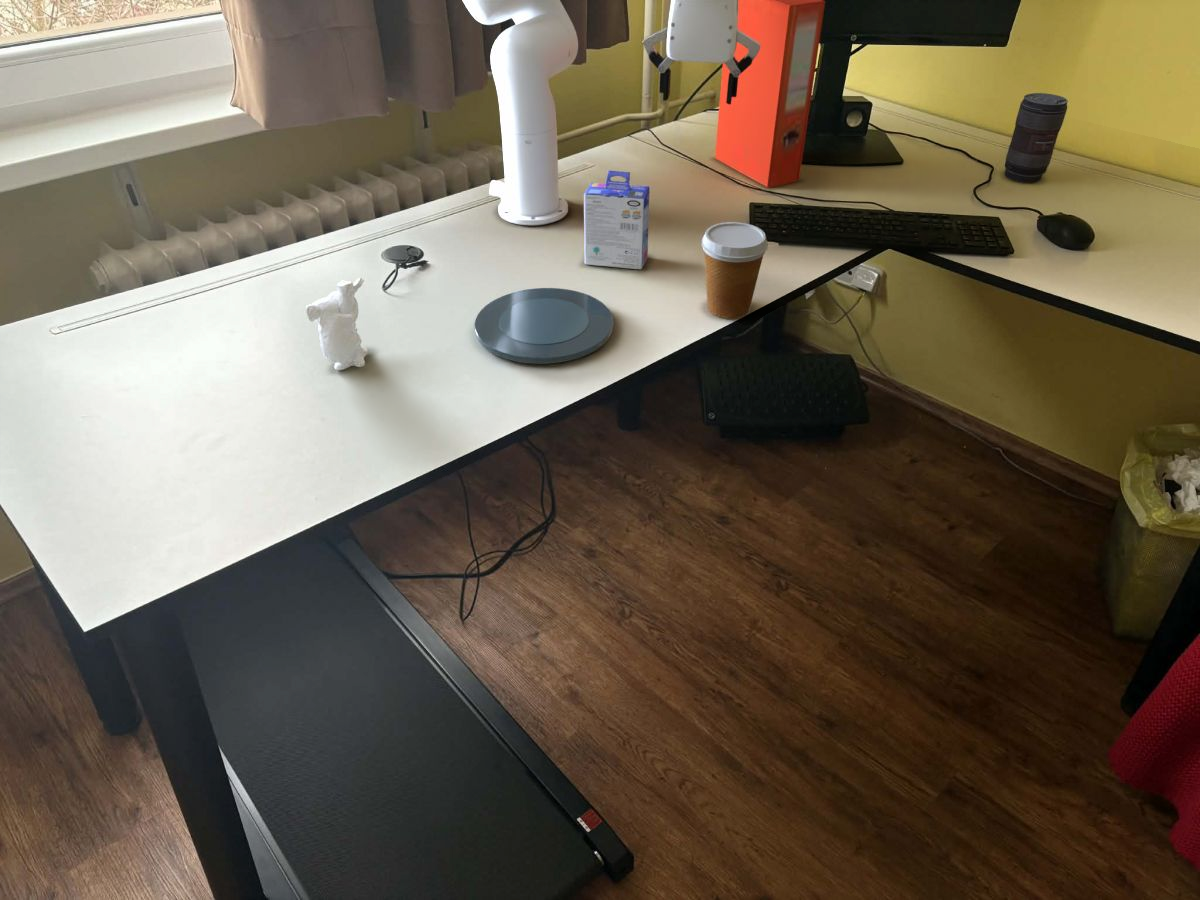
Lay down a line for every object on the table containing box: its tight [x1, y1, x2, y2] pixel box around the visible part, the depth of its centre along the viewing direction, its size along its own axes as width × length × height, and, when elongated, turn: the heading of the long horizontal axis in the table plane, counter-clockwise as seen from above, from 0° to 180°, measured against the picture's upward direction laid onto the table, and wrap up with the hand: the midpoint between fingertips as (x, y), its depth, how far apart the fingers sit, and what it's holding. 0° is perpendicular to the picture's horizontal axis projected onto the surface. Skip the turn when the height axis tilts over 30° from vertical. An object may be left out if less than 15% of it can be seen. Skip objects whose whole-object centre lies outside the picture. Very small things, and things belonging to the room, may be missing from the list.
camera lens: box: [1004, 92, 1069, 184], centre depth 171 cm, size 8×8×15 cm
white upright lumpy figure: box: [305, 277, 370, 371], centre depth 120 cm, size 8×7×12 cm
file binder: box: [714, 0, 826, 189], centre depth 169 cm, size 8×17×32 cm, turn 29°
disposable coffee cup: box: [700, 221, 769, 320], centre depth 132 cm, size 10×10×12 cm
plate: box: [474, 287, 614, 365], centre depth 130 cm, size 20×20×2 cm
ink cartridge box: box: [583, 170, 650, 270], centre depth 144 cm, size 10×6×14 cm, turn 78°
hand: (697, 99), depth 138 cm, fingers open, 9 cm apart
